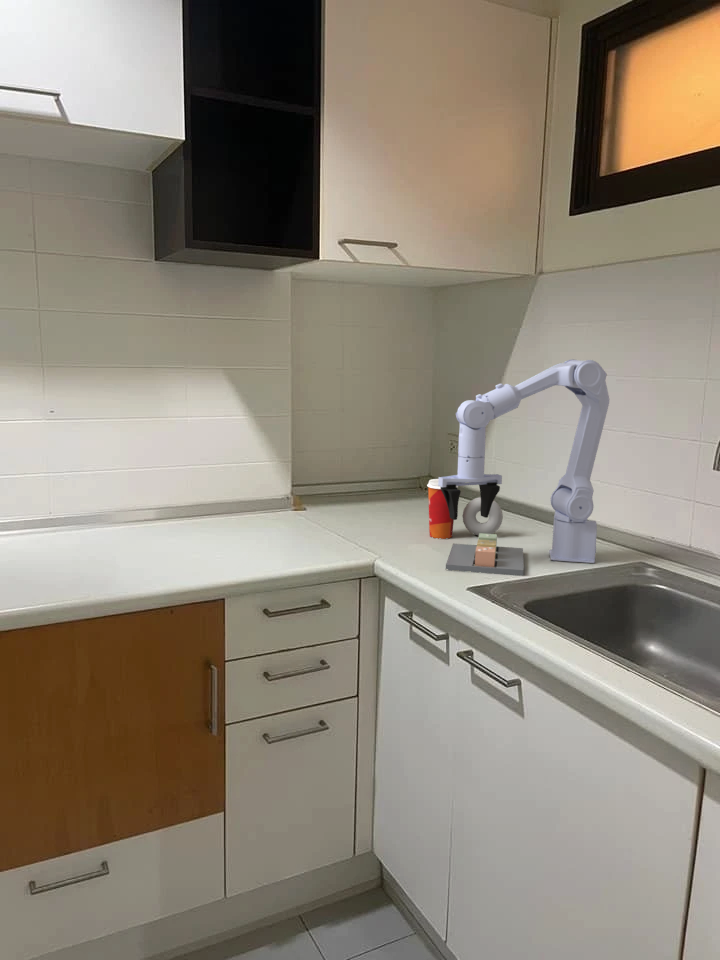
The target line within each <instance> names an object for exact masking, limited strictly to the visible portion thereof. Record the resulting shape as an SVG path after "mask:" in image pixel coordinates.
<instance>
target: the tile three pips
mask: <svg viewBox="0 0 720 960" xmlns="http://www.w3.org/2000/svg"><path fill="white" fill-rule="evenodd" d="M495 560H496V559H495V548H494V547H480V546H477V547H476V552H475V565H474V566H482V567H495V566H494V564H495Z"/></svg>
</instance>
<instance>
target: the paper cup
mask: <svg viewBox="0 0 720 960" xmlns="http://www.w3.org/2000/svg"><path fill="white" fill-rule="evenodd" d="M438 480H439V478H433V479H429V480H428V483H427V484H426V486H427V487H428V488H427V489H428V490H427V491H428V497H427V498H428V525H429V526H428V530H429V531H428V532H429V537H430V538H432V537H433V538H432V539H436V538H438V539H437V540H447V539H446V538H448V539H451V538H452V537H453V532H454V530H453V529H454V521H455V520H453V519H451V518H450V515H449V510H448V506H447V502H446V500H445V497H444V495H443V493H442V491H441V487H440V486H438ZM456 487H457V489H458V488H459V486H456ZM439 538H441V539H439Z"/></svg>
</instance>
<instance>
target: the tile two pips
mask: <svg viewBox="0 0 720 960" xmlns="http://www.w3.org/2000/svg"><path fill="white" fill-rule="evenodd" d="M476 545H477V546H480V547H494V548H495V556H496V553H497V552H496V546H497V545H496V541H493V540H478V539H477V543H476Z"/></svg>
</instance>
